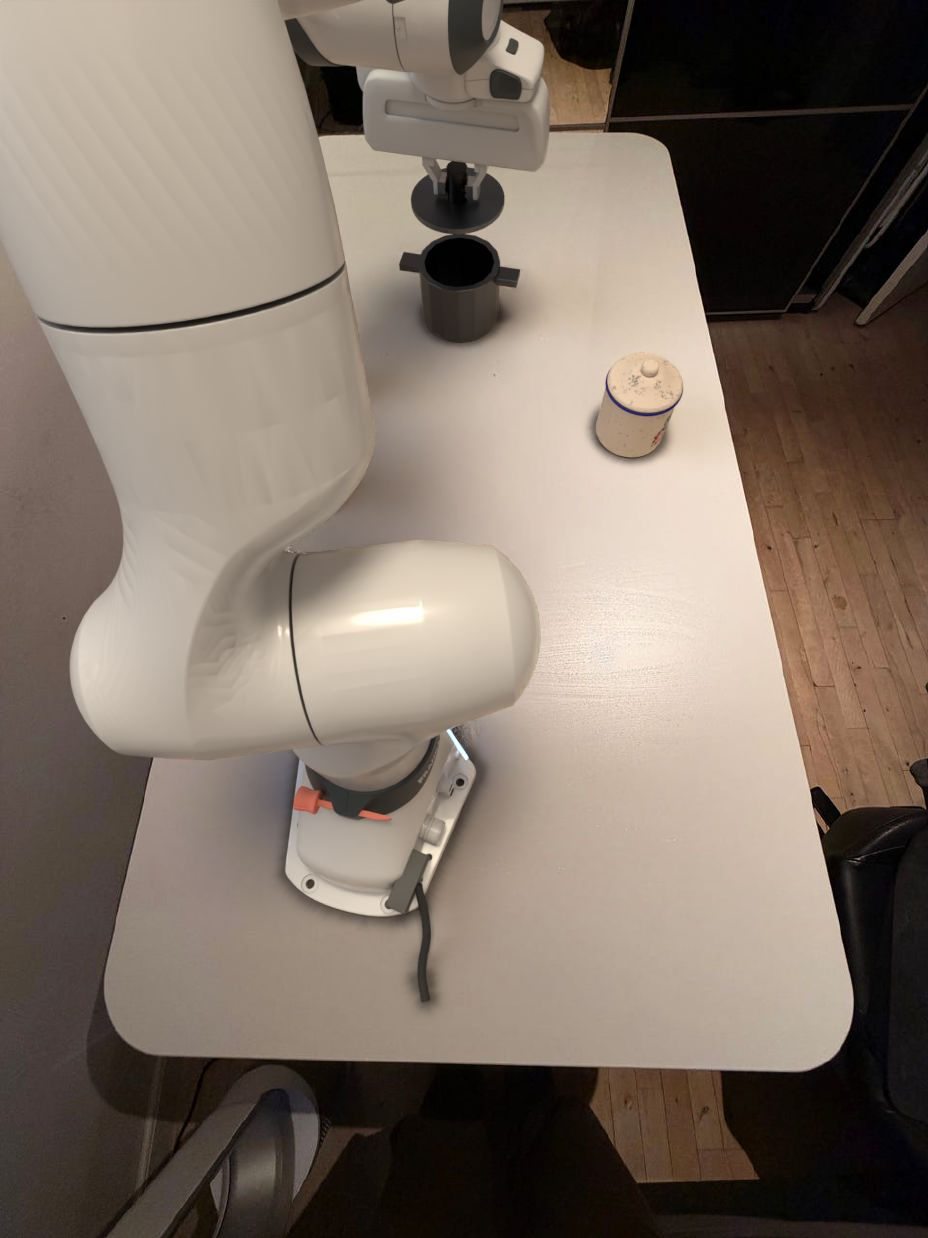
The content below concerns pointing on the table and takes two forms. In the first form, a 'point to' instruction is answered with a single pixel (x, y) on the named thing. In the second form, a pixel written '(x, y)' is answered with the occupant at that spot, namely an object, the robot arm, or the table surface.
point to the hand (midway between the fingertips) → (457, 194)
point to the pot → (460, 285)
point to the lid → (457, 202)
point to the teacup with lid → (638, 404)
